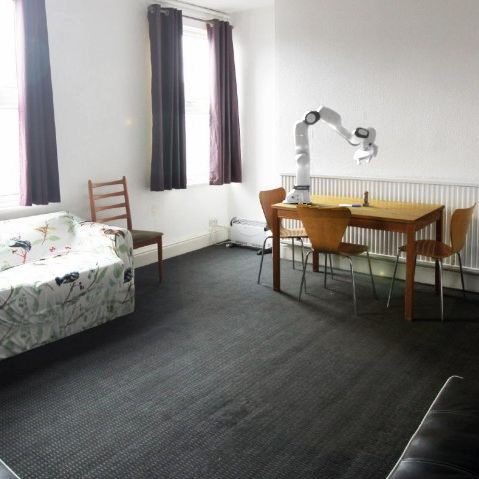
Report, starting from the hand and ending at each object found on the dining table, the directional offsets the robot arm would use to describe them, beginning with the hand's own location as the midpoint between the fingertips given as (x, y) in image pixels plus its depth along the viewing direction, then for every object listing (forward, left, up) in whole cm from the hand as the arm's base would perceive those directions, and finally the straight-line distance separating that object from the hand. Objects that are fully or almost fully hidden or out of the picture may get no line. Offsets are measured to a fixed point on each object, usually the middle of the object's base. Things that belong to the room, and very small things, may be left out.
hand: (363, 163), depth 436 cm
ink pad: (-4, -11, -31) cm, 33 cm away
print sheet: (-12, -10, -31) cm, 35 cm away
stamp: (+3, -9, -31) cm, 33 cm away
